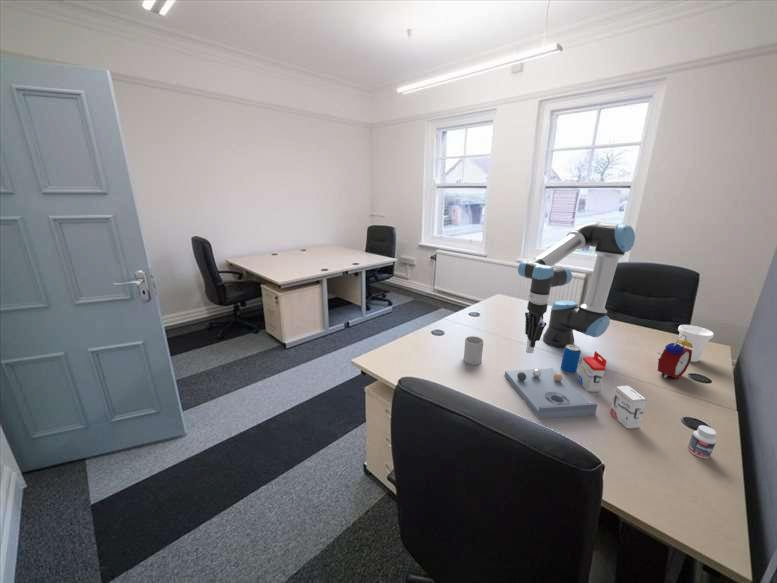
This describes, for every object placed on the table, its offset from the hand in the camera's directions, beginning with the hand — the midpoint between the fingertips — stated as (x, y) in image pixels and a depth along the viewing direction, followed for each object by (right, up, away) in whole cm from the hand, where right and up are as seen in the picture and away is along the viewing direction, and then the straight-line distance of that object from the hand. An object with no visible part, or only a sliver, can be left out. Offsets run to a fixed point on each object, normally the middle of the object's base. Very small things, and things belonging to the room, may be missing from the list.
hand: (529, 352), depth 142 cm
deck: (+2, -15, -11) cm, 18 cm away
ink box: (+23, -20, -26) cm, 40 cm away
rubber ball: (-6, -9, -7) cm, 13 cm away
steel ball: (+1, -8, -4) cm, 9 cm away
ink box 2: (+22, -13, -6) cm, 27 cm away
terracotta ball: (+9, -9, -7) cm, 15 cm away
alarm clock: (+64, -11, +3) cm, 65 cm away
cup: (+85, -6, +17) cm, 87 cm away
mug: (-21, -6, +16) cm, 27 cm away
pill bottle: (+36, -25, -40) cm, 59 cm away
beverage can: (+20, -10, +6) cm, 23 cm away
